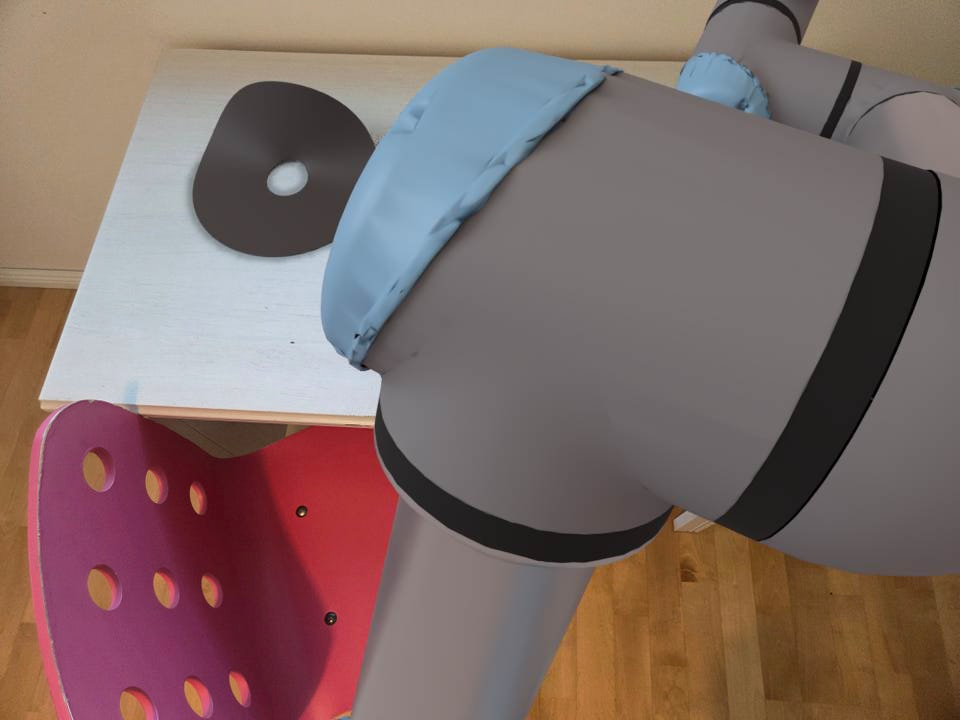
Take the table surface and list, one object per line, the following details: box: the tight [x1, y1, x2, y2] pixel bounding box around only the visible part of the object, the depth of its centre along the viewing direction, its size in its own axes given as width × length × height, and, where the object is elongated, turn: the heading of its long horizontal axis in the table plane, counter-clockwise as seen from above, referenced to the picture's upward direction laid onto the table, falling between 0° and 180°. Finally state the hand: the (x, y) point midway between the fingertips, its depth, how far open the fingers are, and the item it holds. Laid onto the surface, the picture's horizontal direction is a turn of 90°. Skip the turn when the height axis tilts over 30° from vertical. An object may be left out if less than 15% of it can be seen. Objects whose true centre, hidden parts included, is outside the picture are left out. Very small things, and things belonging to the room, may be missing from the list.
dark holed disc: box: [191, 80, 376, 257], centre depth 87 cm, size 25×20×10 cm
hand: (680, 232), depth 85 cm, fingers open, 13 cm apart
